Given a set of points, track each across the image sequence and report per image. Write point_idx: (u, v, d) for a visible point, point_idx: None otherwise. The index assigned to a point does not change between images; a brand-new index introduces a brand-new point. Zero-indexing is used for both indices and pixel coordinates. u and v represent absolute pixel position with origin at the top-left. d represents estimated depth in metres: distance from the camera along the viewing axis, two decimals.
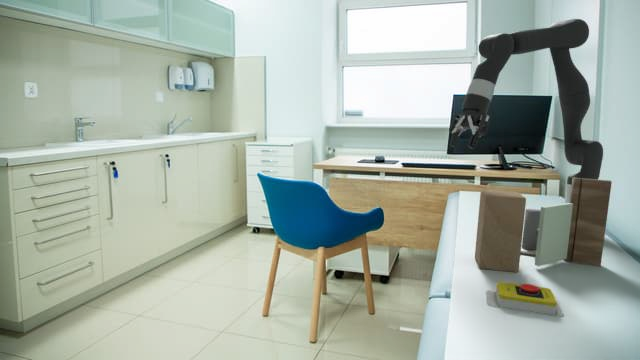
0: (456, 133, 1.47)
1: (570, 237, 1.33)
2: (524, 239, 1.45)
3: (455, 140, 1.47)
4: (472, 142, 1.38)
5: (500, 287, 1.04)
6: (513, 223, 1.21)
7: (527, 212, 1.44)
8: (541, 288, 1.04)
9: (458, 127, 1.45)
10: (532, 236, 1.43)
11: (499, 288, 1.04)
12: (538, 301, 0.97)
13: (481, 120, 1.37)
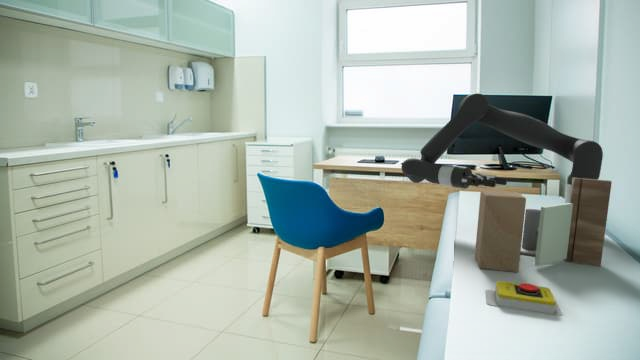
0: None
1: (570, 237, 1.33)
2: (524, 239, 1.45)
3: (500, 180, 1.55)
4: (489, 185, 1.49)
5: (499, 286, 1.05)
6: (513, 223, 1.21)
7: (527, 212, 1.44)
8: (540, 287, 1.05)
9: None
10: (532, 236, 1.43)
11: (498, 287, 1.04)
12: (537, 300, 0.98)
13: (467, 184, 1.52)
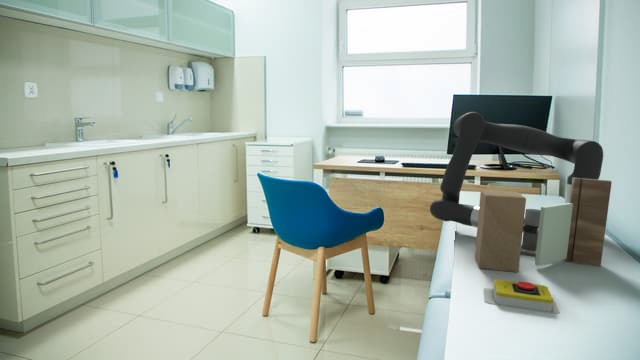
0: None
1: (570, 237, 1.33)
2: (524, 239, 1.45)
3: None
4: (532, 232, 1.42)
5: (497, 284, 1.06)
6: (513, 223, 1.21)
7: (527, 212, 1.44)
8: (538, 286, 1.06)
9: None
10: (532, 236, 1.43)
11: (496, 286, 1.05)
12: (535, 298, 0.99)
13: None
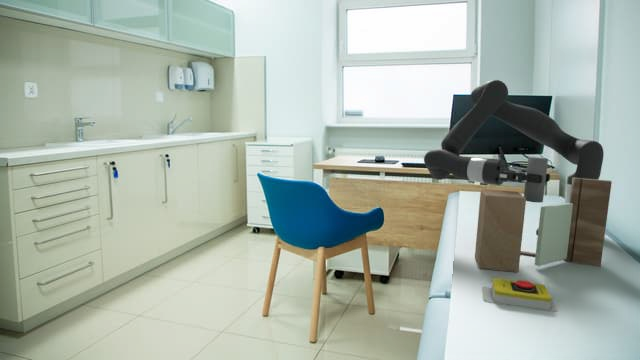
0: None
1: (570, 237, 1.33)
2: (526, 190, 1.30)
3: None
4: (535, 181, 1.27)
5: (496, 283, 1.07)
6: (513, 223, 1.21)
7: (529, 160, 1.29)
8: (536, 284, 1.07)
9: None
10: (535, 186, 1.28)
11: (495, 284, 1.06)
12: (533, 297, 1.00)
13: None
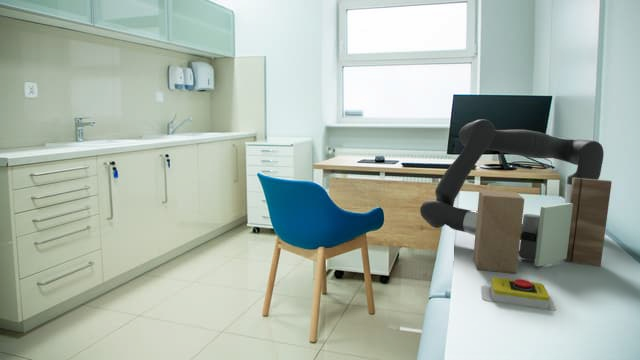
0: None
1: (570, 237, 1.33)
2: (521, 247, 1.32)
3: None
4: (530, 239, 1.29)
5: (494, 282, 1.07)
6: (511, 224, 1.20)
7: (525, 218, 1.31)
8: (534, 283, 1.07)
9: None
10: (531, 244, 1.30)
11: (494, 283, 1.06)
12: (531, 296, 1.00)
13: None
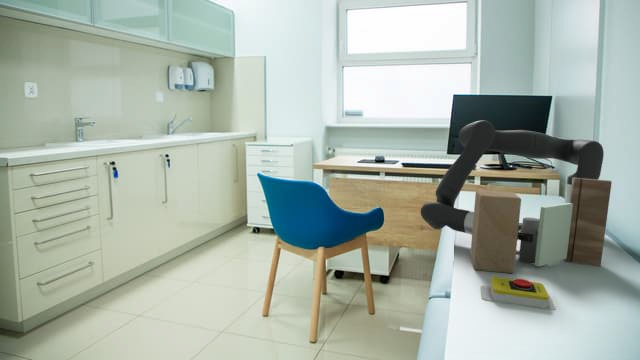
0: None
1: (570, 237, 1.33)
2: (521, 251, 1.32)
3: None
4: (526, 240, 1.29)
5: (494, 281, 1.07)
6: (508, 224, 1.20)
7: (524, 221, 1.31)
8: (534, 283, 1.08)
9: None
10: (530, 248, 1.30)
11: (493, 283, 1.07)
12: (531, 295, 1.01)
13: None
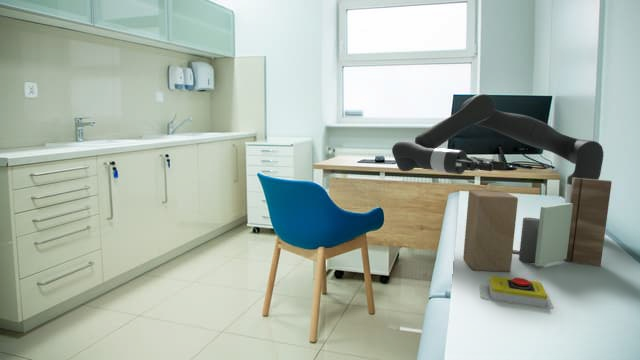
0: None
1: (570, 237, 1.33)
2: (521, 251, 1.32)
3: (498, 164, 1.41)
4: (486, 169, 1.35)
5: (493, 280, 1.08)
6: (505, 223, 1.21)
7: (524, 221, 1.31)
8: (532, 282, 1.08)
9: None
10: (530, 248, 1.30)
11: (492, 282, 1.07)
12: (529, 294, 1.01)
13: (462, 168, 1.39)
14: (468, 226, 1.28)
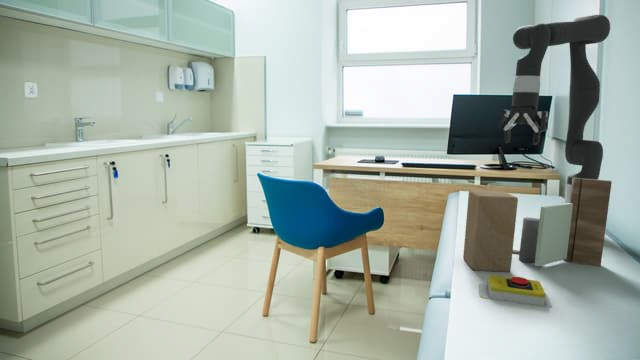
0: (508, 129, 1.50)
1: (570, 237, 1.33)
2: (521, 251, 1.32)
3: (509, 136, 1.50)
4: (536, 139, 1.44)
5: (491, 279, 1.09)
6: (505, 223, 1.21)
7: (524, 221, 1.31)
8: (531, 281, 1.09)
9: (511, 124, 1.48)
10: (530, 248, 1.30)
11: (491, 281, 1.08)
12: (528, 293, 1.02)
13: (542, 118, 1.41)
14: (468, 226, 1.28)
